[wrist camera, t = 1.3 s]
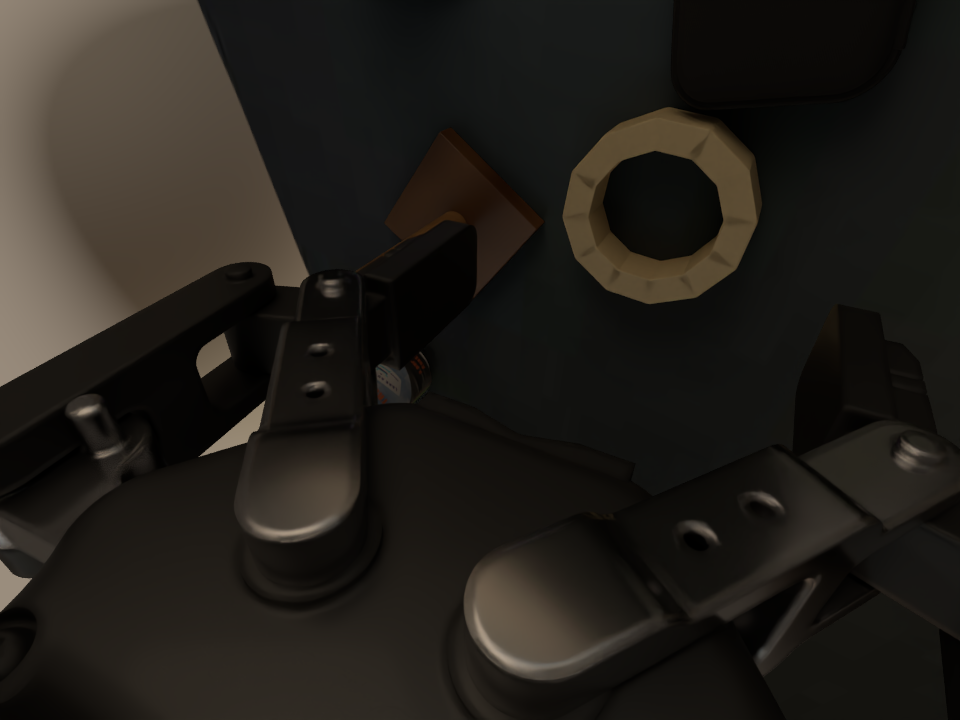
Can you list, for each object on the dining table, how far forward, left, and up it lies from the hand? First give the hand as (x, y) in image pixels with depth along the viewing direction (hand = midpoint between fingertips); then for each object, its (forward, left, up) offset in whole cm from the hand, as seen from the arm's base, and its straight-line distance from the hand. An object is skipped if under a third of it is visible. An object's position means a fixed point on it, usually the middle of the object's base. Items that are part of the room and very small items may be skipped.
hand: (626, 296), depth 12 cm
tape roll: (+1, -6, -22) cm, 23 cm away
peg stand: (-8, -17, -22) cm, 29 cm away
